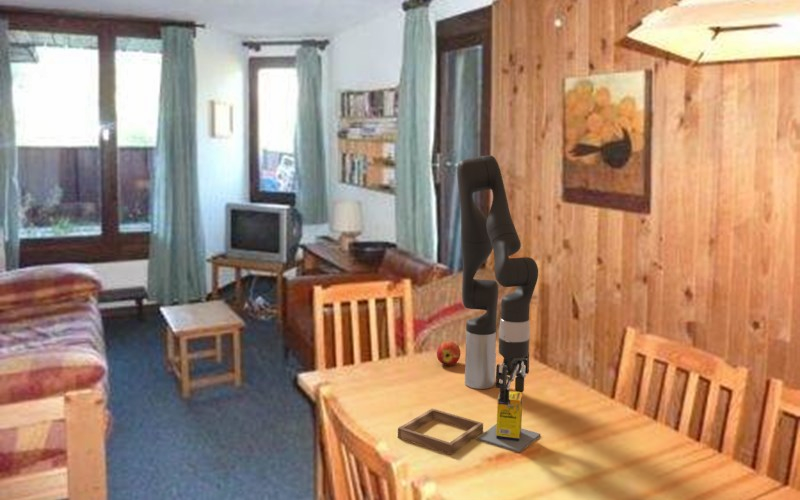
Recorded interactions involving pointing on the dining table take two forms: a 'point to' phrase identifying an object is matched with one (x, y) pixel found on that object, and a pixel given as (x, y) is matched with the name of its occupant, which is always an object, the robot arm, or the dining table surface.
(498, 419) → the supplement box
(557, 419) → the dining table surface
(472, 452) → the dining table surface
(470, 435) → the frame
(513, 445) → the mat
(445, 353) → the apple
